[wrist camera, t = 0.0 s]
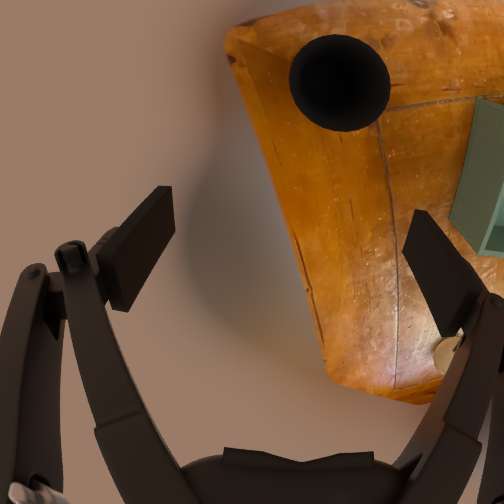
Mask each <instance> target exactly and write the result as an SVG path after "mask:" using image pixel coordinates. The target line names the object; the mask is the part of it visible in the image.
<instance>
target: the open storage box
mask: <svg viewBox="0 0 504 504" xmlns="http://www.w3.org/2000/svg"><path fill="white" fill-rule="evenodd" d="M448 219H449V220H450V221H451V223H452V224H453V225H454V226H455V227H456V228H457V230H458V231H459V232H460V233H461V234H462V236H463V237H464V238H465V239H466V241H467V242H468V243H469V244H470V246H471V247H472V248H473V249H474V251H475V252H476V253H477V254H478V255H485V256H493V257H500V258H504V105H502V104H498V103H495V102H492V101H488V100H485V99H481V98H477V97H476V103H475V109H474V116H473V122H472V128H471V133H470V138H469V143H468V148H467V152H466V157H465V161H464V165H463V169H462V173H461V177H460V181H459V185H458V188H457V192H456V195H455V199H454V202H453V206H452V209H451V212H450V215H449V218H448Z"/></svg>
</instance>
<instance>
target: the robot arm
mask: <svg viewBox="0 0 504 504" xmlns="http://www.w3.org/2000/svg"><path fill="white" fill-rule="evenodd" d="M174 233H175V221H174V211H173V200H172V187H171V186H158V187H157V188H156V189H155V190H154V191H153V192H152V193H151V194H150V195H149V196H148V197H147V198H146V199H145V200H144V201H143V202H142V203H141V204H140V205H139V206H138V207H137V208H136V209H135V210H134V211H133V213H132V214H131V215H130V216H129V217H128V218H127V219H126V220H125V221H124V222H123V223H122V225H121V226H120V227H114V228H112V229H111V230H109V231H107V232H106V233H105V234H104V235H103V236H102V237H101V239H99V241H98V242H97V243H96V244H95V245H94V246H93V247H92V248H91V250H90V251H89V252H88V253H87V250H86V246H85V244H84V242H82V241H78V240H74V241H69V242H66V243H64V244H62V245H61V246H59V247H58V248H57V249H56V251H55V254H54V255H55V258H56V261H57V264H58V267H59V270H60V272H52V273H48V271H47V268H46V266H45V265H44V264H41V263H36V264H32V265H30V266H28V267H26V268H25V269H24V270H23V272H22V273H21V274H20V277H19V280H18V282H17V285H16V287H15V290H14V293H13V296H12V299H11V302H10V305H9V308H8V311H7V314H6V317H5V321H4V324H3V328H2V331H1V335H0V504H70V503H69V501H68V500H67V498H66V497H65V496H64V495H63V465H62V451H61V434H60V379H61V377H60V376H61V361H62V360H61V359H62V348H63V338H64V328H65V320H67V319H68V324H69V328H70V334H71V339H72V343H73V348H74V352H75V356H76V360H77V364H78V368H79V371H80V375H81V379H82V382H83V385H84V389H85V392H86V396H87V399H88V402H89V405H90V408H91V411H92V414H93V417H94V420H95V423H96V428H94V433H95V437H96V440H97V443H98V445H99V448H100V450H101V453H102V455H103V458H104V460H105V462H106V465H107V467H108V469H109V471H110V474H111V476H112V478H113V480H114V482H115V485H116V486H117V489H118V491H119V493H120V495H121V497H122V499H123V501H124V502H125V504H457V502H458V501H459V499H460V497H461V495H462V493H463V491H464V489H465V487H466V485H467V483H468V481H469V479H470V476H471V474H472V472H473V470H474V467H475V465H476V463H477V460H478V458H479V455H480V453H481V449H482V443H480V442H479V441H477V438H478V435H479V432H480V430H481V427H482V424H483V421H484V419H485V415H486V413H487V410H488V406H489V403H490V400H491V396H492V412H491V422H490V432H489V440H488V447H487V453H486V459H485V465H484V470H483V475H482V479H481V484H480V489H479V494H478V498H477V504H504V299H503V298H502V297H501V296H499V295H497V294H495V293H489V291H488V290H487V288H486V286H485V285H484V283H483V282H482V280H481V279H480V278H479V276H478V274H477V273H476V272H475V270H474V269H473V267H472V266H471V264H470V263H469V262H468V261H466V260H465V259H464V258H463V257H462V256H461V255H460V254H459V252H458V251H457V249H456V248H455V247H454V245H453V244H452V243H451V241H450V240H449V239H448V237H447V236H446V235H445V233H444V232H443V231H442V230H441V228H440V227H439V226H438V225H437V223H436V222H435V221H434V220H433V218H432V217H431V216H430V215H429V213H428V212H427V211H423V210H417V209H415V211H414V215H413V218H412V222H411V225H410V228H409V232H408V235H407V238H406V241H405V244H404V247H403V250H402V253H403V255H404V256H405V258H406V260H407V262H408V264H409V266H410V268H411V270H412V272H413V274H414V276H415V279H416V281H417V283H418V285H419V287H420V289H421V291H422V293H423V296H424V298H425V300H426V302H427V304H428V307H429V309H430V311H431V314H432V316H433V318H434V321H435V323H436V325H437V328H438V330H439V333H440V335H441V337H455V336H456V334H457V332H458V331H459V329H460V328H462V330H463V332H464V334H463V336H462V337H461V339H460V340H459V342H458V343H457V345H456V346H455V348H454V349H453V350H452V351H453V352H455V353H454V356H453V358H452V360H451V363H450V365H449V367H448V369H447V372H446V374H445V376H444V378H443V380H442V382H441V385H440V387H439V389H438V391H437V393H436V395H435V397H434V399H433V401H432V403H431V404H430V406H429V408H428V410H427V412H426V414H425V416H424V417H423V419H422V421H421V423H420V425H419V426H418V428H417V430H416V431H415V433H414V435H413V436H412V438H411V440H410V441H409V443H408V444H407V446H406V447H405V449H404V451H403V452H402V454H401V455H400V456H399V457H398V459H397V460H396V461H395V462H394V463H393V464H392V465H389V464H387V463H385V462H382V461H378V460H374V452H373V451H371V452H357V453H339V454H335V455H331V456H328V457H323V458H319V459H315V460H311V461H306V462H298V461H294V460H290V459H286V458H283V457H279V456H276V455H272V454H269V453H266V452H263V451H254V450H244V449H235V448H227V447H224V452H223V455H214V456H209V457H205V458H201V459H198V460H196V461H193V462H191V463H189V464H187V465H185V466H183V467H182V468H180V466H179V464H178V463H177V461H176V460H175V458H174V456H173V455H172V453H171V451H170V450H169V448H168V446H167V445H166V443H165V441H164V439H163V438H162V436H161V434H160V432H159V430H158V428H157V426H156V424H155V423H154V421H153V419H152V417H151V415H150V413H149V411H148V409H147V407H146V405H145V403H144V401H143V399H142V397H141V395H140V393H139V390H138V388H137V386H136V384H135V382H134V379H133V377H132V375H131V373H130V370H129V368H128V366H127V363H126V361H125V359H124V356H123V354H122V351H121V349H120V346H119V344H118V341H117V339H116V336H115V334H114V331H113V328H112V325H111V323H110V320H109V317H108V315H107V311H106V309H105V304H106V303H107V301H108V300H109V301H110V304H111V307H112V310H117V311H122V312H129V310H130V308H131V306H132V304H133V303H134V301H135V299H136V297H137V295H138V294H139V292H140V290H141V288H142V286H143V285H144V283H145V281H146V280H147V278H148V276H149V274H150V273H151V271H152V269H153V268H154V266H155V264H156V263H157V261H158V259H159V257H160V256H161V254H162V252H163V251H164V249H165V248H166V246H167V244H168V243H169V241H170V239H171V238H172V236H173V235H174ZM455 350H456V351H455ZM492 393H493V394H492Z"/></svg>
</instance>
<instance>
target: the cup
mask: <svg viewBox="0 0 504 504" xmlns="http://www.w3.org/2000/svg"><path fill="white" fill-rule="evenodd" d="M289 84H290V91H291V94H292V97H293V99H294V101H295V104H296V105H297V106H298V108H299V109H300V111H301V112H302V113H303V114H304V115H305V116H306V117H307V118H308V119H309V120H311V121H312V122H313V123H315V124H317V125H319V126H321V127H323V128H326V129H329V130H333V131H341V132H349V131H355V130H359V129H362V128H364V127H366V126H369V125H370V124H371V123H373V122H374V121H375V120H377V119H378V118H379V116H380V115H381V114H382V112H383V111H384V110H385V108H386V105H387V103H388V101H389V97H390V90H391V85H390V76H389V73H388V71H387V68H386V65H385V64H384V62H383V60H382V59H381V57H380V56H379V55H378V54H377V53H376V52H375V51H374V50H373V49H372V48H371V47H370V46H369V45H367V44H366V43H364V42H362V41H361V40H359V39H356V38H353V37H350V36H347V35H336V34H333V35H327V36H321V37H319V38H317V39H314V40H312V41H310V42H309V43H307V44H306V45H305V46H304V47H302V48H301V49H300V51H299V52H298V53H297V55H296V56H295V57H294V60H293V62H292V65H291V68H290V74H289Z"/></svg>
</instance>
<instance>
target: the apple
mask: <svg viewBox="0 0 504 504" xmlns="http://www.w3.org/2000/svg"><path fill="white" fill-rule="evenodd" d="M460 339H461V338H460V337H456V336H455V337H448V338H446V339H445V340H443V341H442V342H441V343H440V344H439V345H438V346H437V347H436V349H435V352H434V356H433V359H434V365H435V367H436V369H437V370H438V371H439V372H440V373H441V374H443V375H445V374H446V372H447V369H448V367H449V365H450V363H451V360H452V358H453V356H454V353H455V352H453V351H452V350H453V349H454V348H455V346H456V345H457V343H458V342H459V340H460ZM455 351H456V350H455Z"/></svg>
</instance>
